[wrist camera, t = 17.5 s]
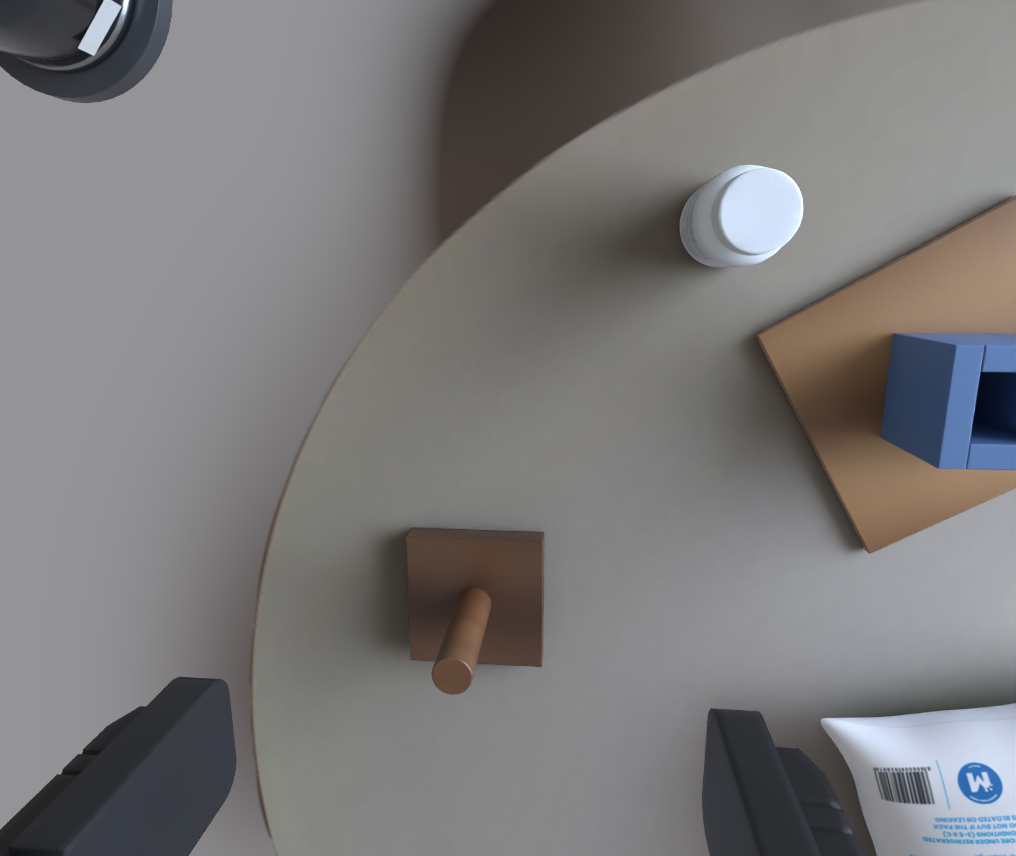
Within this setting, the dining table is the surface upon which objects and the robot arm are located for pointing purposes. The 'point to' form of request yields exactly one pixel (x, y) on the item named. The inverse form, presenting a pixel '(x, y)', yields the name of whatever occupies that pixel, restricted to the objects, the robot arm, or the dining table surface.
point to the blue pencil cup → (953, 399)
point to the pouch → (934, 780)
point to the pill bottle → (741, 216)
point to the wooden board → (865, 364)
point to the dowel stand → (474, 601)
